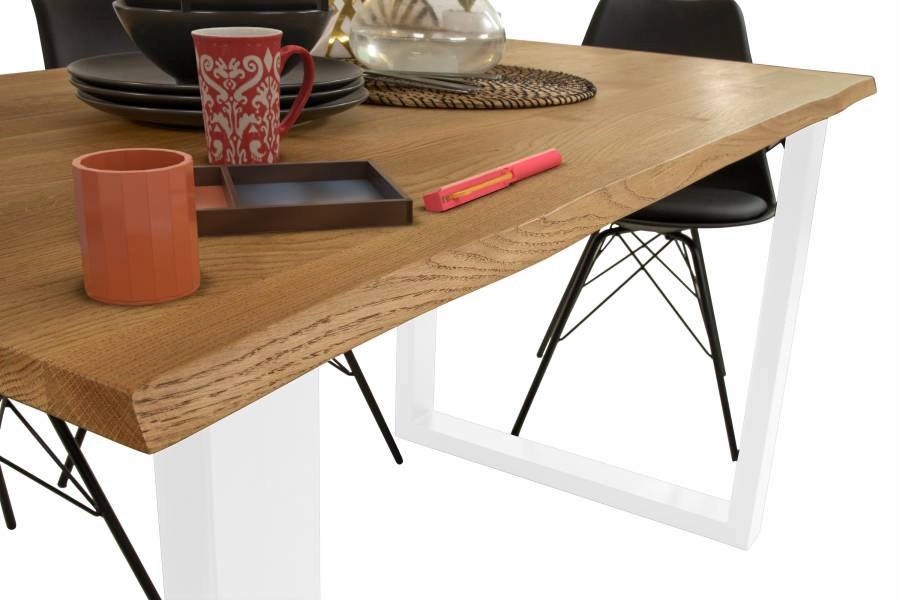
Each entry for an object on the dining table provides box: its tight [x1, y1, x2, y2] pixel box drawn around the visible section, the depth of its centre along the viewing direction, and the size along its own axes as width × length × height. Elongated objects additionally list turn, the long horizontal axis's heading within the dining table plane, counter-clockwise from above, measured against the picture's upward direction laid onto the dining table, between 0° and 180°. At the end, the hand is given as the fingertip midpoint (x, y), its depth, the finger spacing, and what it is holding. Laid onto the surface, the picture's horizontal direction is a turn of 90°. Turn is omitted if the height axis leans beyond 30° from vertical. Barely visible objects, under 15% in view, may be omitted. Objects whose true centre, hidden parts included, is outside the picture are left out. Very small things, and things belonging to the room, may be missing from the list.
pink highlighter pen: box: [422, 147, 563, 213], centre depth 97 cm, size 24×2×5 cm
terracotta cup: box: [71, 147, 201, 306], centre depth 66 cm, size 7×7×9 cm
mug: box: [190, 26, 316, 165], centre depth 104 cm, size 13×9×14 cm
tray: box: [193, 158, 414, 238], centre depth 87 cm, size 25×16×2 cm, turn 106°
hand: (255, 11), depth 101 cm, fingers open, 13 cm apart
